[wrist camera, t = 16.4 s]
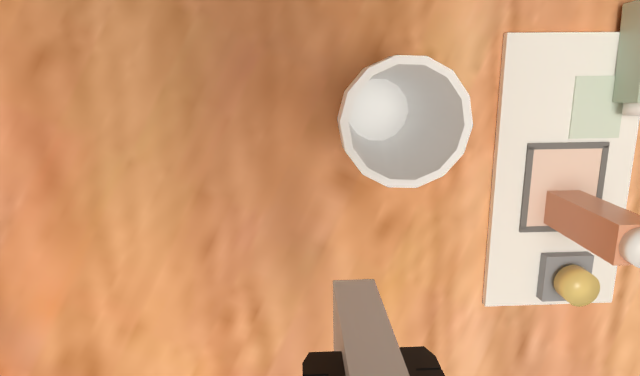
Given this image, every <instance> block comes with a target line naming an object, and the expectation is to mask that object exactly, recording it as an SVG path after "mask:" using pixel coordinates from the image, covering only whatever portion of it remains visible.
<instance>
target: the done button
mask: <svg viewBox="0 0 640 376" xmlns="http://www.w3.org/2000/svg"><path fill="white" fill-rule="evenodd" d="M554 288H555V290H556V292H557V293H558V294H559V295H560V296H562V297H563V298H564V299H565V300H566V301H567V302H569V303H570V304H571V305H574V306H579V307H580V306H586V305H588V304H590V303H592V302H593V301H594V300H595V299H596V298H597V296H598V294H599V292H600V283H599V280H598V279H597V278H596V277H595V276H594V275H593V274H591V273H590V272H588V271H587V270H585V269H584V268H582V267H581V266H578V265H569V266H566V267H564V268H562V269H561V270H560V271H559V272H558V273H557V274H556V276H555V278H554Z"/></svg>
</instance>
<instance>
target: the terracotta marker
mask: <svg viewBox="0 0 640 376" xmlns="http://www.w3.org/2000/svg"><path fill="white" fill-rule="evenodd" d="M544 224H546V225H548V226H549V227H551V228H553V229H554V230H556V231H558V232H559V233H561V234H562V235H564V236H566V237H567V238H569V239H571V240H572V241H574V242H576V243H577V244H579V245H580V246H582V247H584V248H585V249H587V250H589V251H590V252H592V253H594V254H595V255H597V256H598V257H600V258H602V259H603V260H605V261H607V262H608V263H610V264H612V265H613V266H617V265H634V266H636V267H638V268H640V215H638V214H636V213H634V212H631V211H629V210H626V209H624V208H622V207H619V206H617V205H614V204H612V203H610V202H607V201H605V200H602V199H600V198H598V197H595V196H593V195H590V194H588V193H586V192H583V191H581V190H562V191H547V195H546V204H545V214H544Z"/></svg>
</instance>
